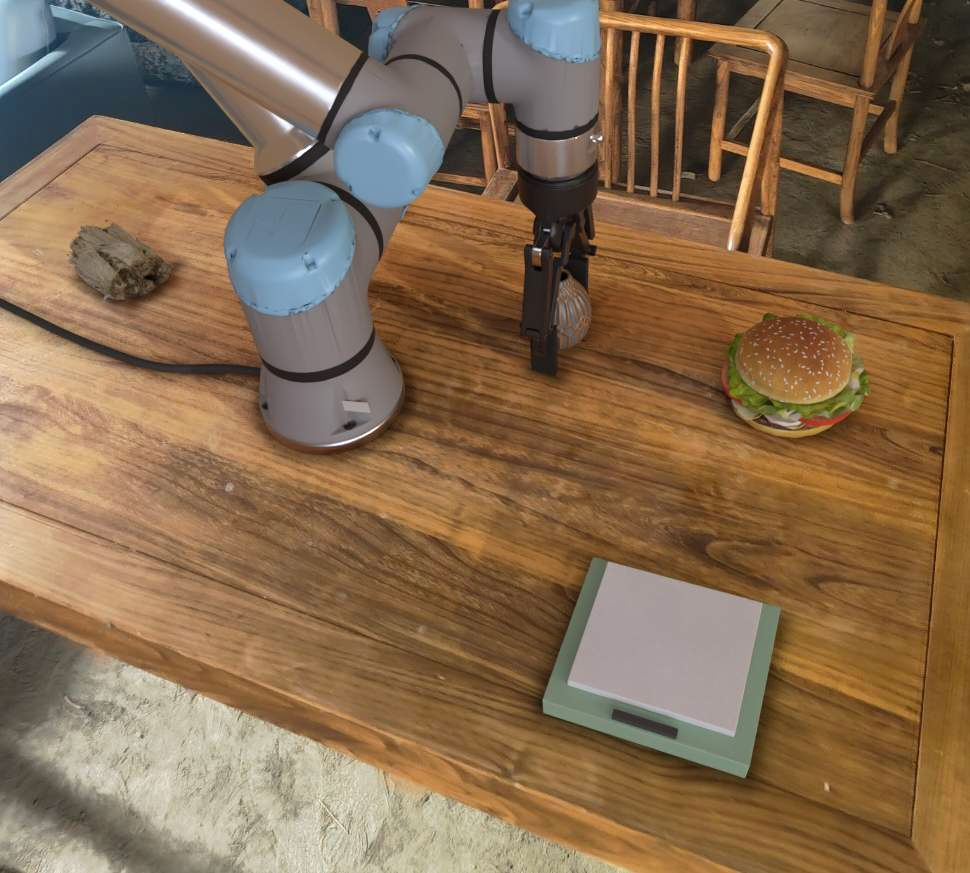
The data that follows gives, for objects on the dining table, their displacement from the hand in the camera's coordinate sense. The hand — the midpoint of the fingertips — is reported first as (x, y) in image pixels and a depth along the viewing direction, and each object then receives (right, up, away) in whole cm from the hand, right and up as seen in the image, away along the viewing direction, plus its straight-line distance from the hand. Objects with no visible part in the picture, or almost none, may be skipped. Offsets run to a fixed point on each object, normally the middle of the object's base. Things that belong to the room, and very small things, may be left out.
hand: (560, 335), depth 102 cm
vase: (0, 0, 0) cm, 0 cm away
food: (+23, -7, -8) cm, 25 cm away
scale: (+6, -30, -26) cm, 40 cm away
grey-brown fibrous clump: (-53, +8, +13) cm, 55 cm away
